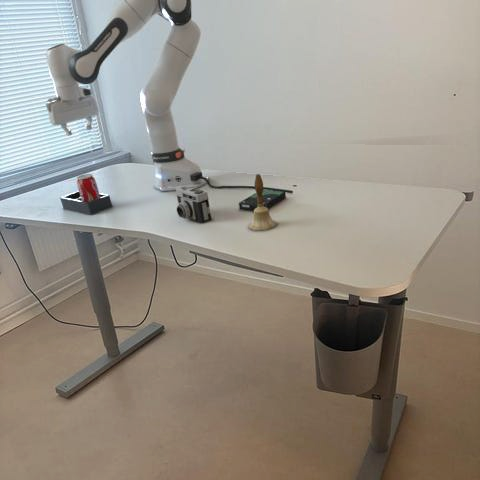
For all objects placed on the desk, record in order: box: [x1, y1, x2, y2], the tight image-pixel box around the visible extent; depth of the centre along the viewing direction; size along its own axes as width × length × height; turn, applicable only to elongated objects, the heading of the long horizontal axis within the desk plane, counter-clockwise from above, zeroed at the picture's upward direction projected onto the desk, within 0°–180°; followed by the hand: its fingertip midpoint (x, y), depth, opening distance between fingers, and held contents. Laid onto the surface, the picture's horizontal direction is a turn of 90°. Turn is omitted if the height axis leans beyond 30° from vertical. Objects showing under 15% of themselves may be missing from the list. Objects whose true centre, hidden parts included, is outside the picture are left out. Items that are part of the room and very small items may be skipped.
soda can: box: [76, 173, 100, 202], centre depth 189 cm, size 7×7×12 cm
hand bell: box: [249, 173, 277, 232], centre depth 150 cm, size 8×8×16 cm
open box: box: [59, 190, 113, 216], centre depth 194 cm, size 19×10×5 cm, turn 49°
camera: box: [175, 186, 212, 224], centre depth 165 cm, size 14×8×10 cm, turn 37°
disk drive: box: [238, 189, 287, 212], centre depth 171 cm, size 10×3×15 cm
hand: (79, 132), depth 192 cm, fingers open, 8 cm apart
